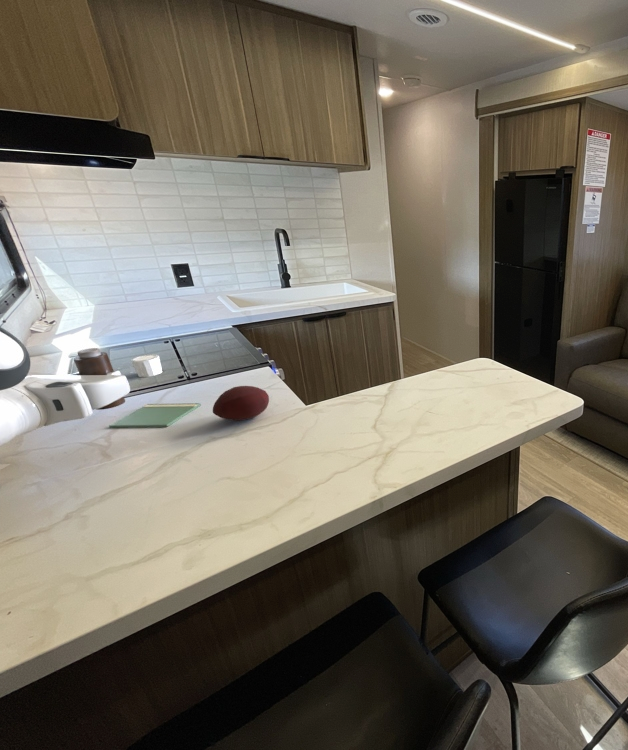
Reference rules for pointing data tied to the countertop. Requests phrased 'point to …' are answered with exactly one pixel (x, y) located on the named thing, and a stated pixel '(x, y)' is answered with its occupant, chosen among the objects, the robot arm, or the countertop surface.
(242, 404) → the potato
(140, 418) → the tea towel
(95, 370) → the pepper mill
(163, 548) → the countertop surface
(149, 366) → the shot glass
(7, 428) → the robot arm
